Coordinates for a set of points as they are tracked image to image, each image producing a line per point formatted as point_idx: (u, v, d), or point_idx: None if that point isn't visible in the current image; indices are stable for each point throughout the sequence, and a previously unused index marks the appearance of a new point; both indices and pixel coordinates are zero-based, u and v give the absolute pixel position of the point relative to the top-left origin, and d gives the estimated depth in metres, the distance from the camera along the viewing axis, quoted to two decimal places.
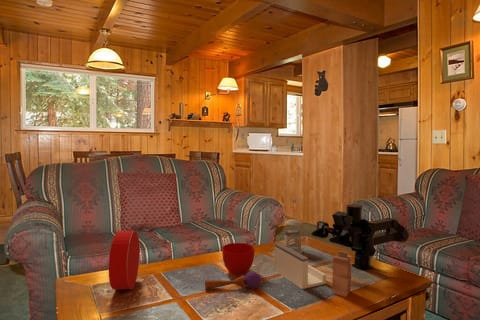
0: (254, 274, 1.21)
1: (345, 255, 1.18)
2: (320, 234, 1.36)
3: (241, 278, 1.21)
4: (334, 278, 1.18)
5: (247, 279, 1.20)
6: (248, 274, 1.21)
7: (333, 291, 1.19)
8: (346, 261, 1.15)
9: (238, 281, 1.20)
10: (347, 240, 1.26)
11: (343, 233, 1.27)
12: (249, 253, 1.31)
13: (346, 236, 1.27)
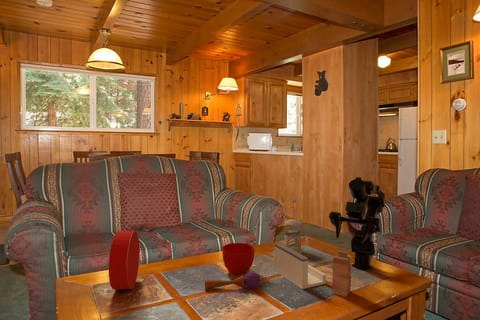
0: (254, 274, 1.21)
1: (345, 255, 1.18)
2: (340, 227, 1.31)
3: (241, 278, 1.21)
4: (334, 278, 1.18)
5: (247, 279, 1.20)
6: (248, 274, 1.21)
7: (333, 291, 1.19)
8: (346, 261, 1.15)
9: (238, 281, 1.20)
10: (373, 229, 1.25)
11: (368, 226, 1.24)
12: (249, 253, 1.31)
13: (371, 227, 1.24)
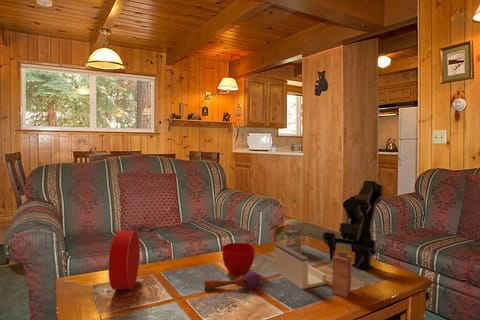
0: (254, 274, 1.20)
1: (345, 255, 1.18)
2: (334, 249, 1.26)
3: (241, 278, 1.20)
4: (334, 278, 1.18)
5: (247, 279, 1.20)
6: (248, 274, 1.21)
7: (333, 291, 1.19)
8: (346, 261, 1.15)
9: (237, 281, 1.20)
10: (368, 251, 1.20)
11: (363, 249, 1.19)
12: (249, 253, 1.31)
13: (366, 249, 1.19)
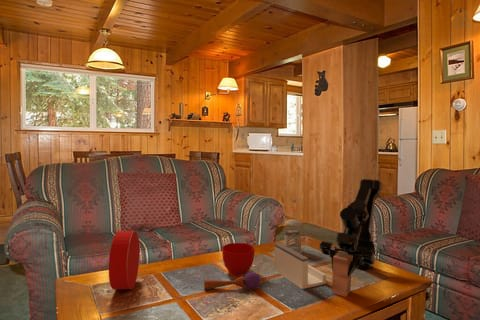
0: (253, 275, 1.20)
1: (345, 255, 1.18)
2: None
3: (240, 279, 1.20)
4: (334, 278, 1.18)
5: (246, 280, 1.19)
6: (247, 275, 1.21)
7: (333, 291, 1.18)
8: (346, 261, 1.15)
9: (237, 282, 1.20)
10: (360, 261, 1.19)
11: (355, 258, 1.17)
12: (249, 253, 1.31)
13: (358, 259, 1.18)
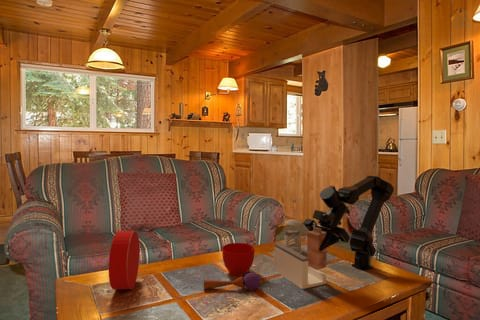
0: (253, 275, 1.20)
1: (318, 231, 1.24)
2: None
3: (240, 279, 1.20)
4: (308, 252, 1.26)
5: (246, 280, 1.19)
6: (247, 275, 1.20)
7: None
8: (317, 236, 1.22)
9: (237, 282, 1.20)
10: (335, 238, 1.23)
11: (328, 235, 1.23)
12: (249, 253, 1.31)
13: (332, 236, 1.23)
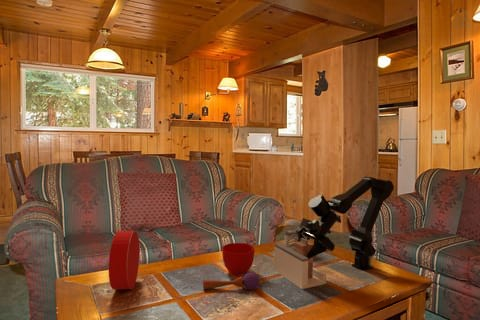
0: (252, 275, 1.20)
1: (305, 242, 1.28)
2: None
3: (239, 279, 1.20)
4: None
5: (245, 280, 1.19)
6: (247, 275, 1.20)
7: None
8: (302, 247, 1.26)
9: (236, 282, 1.20)
10: (322, 247, 1.25)
11: (315, 244, 1.25)
12: (249, 253, 1.31)
13: (319, 245, 1.25)
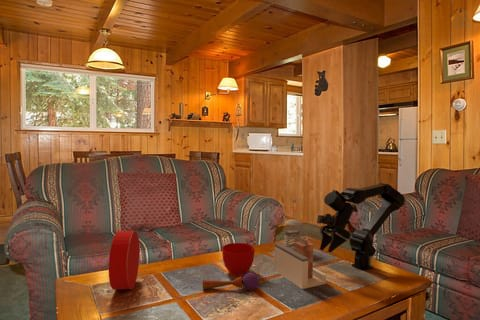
0: (252, 275, 1.20)
1: (305, 242, 1.28)
2: (328, 240, 1.39)
3: (239, 279, 1.20)
4: None
5: (245, 280, 1.19)
6: (246, 275, 1.20)
7: None
8: (302, 247, 1.26)
9: (236, 282, 1.20)
10: (340, 238, 1.27)
11: (332, 236, 1.29)
12: (249, 253, 1.31)
13: (336, 236, 1.28)
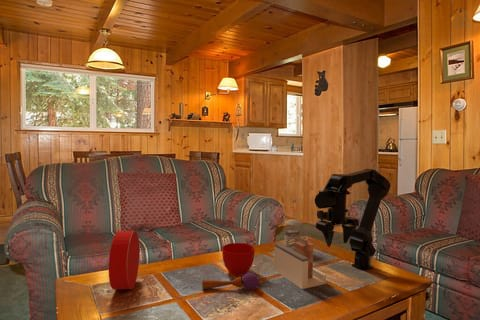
0: (252, 275, 1.20)
1: (305, 242, 1.28)
2: (347, 231, 1.36)
3: (238, 279, 1.20)
4: None
5: (244, 280, 1.19)
6: (246, 275, 1.20)
7: None
8: (302, 247, 1.26)
9: (235, 282, 1.20)
10: None
11: None
12: (249, 253, 1.31)
13: (323, 230, 1.31)
